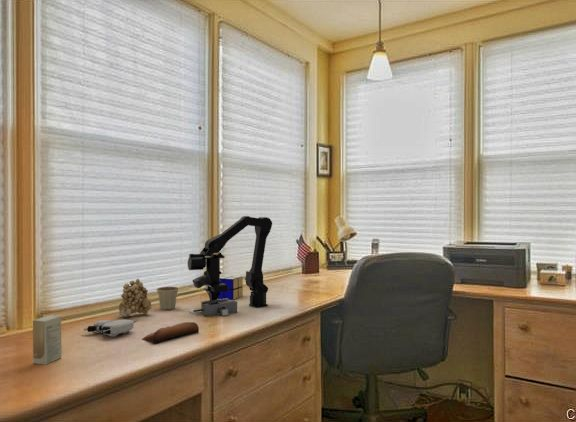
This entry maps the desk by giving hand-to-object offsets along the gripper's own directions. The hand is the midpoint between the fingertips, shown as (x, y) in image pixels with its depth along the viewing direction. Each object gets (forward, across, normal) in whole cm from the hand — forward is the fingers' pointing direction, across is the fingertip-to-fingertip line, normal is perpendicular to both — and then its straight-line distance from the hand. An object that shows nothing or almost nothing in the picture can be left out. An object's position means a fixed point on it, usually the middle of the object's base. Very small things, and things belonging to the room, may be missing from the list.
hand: (212, 305), depth 191 cm
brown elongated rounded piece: (+3, +28, -28) cm, 40 cm away
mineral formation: (+2, -8, -30) cm, 31 cm away
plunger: (+2, +7, -2) cm, 7 cm away
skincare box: (+2, +34, -65) cm, 73 cm away
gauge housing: (+2, +2, -1) cm, 3 cm away
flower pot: (+2, -14, -15) cm, 21 cm away
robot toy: (+2, +14, -44) cm, 46 cm away
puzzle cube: (+2, -22, +18) cm, 28 cm away
